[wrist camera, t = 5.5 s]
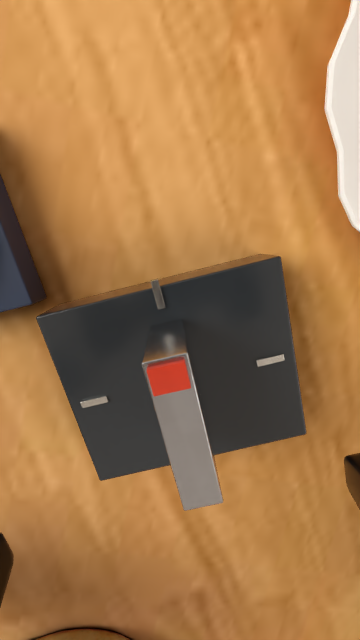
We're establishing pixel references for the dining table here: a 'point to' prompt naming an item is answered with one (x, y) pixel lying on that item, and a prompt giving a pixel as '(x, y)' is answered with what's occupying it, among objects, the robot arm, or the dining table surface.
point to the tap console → (207, 355)
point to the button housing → (15, 261)
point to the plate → (346, 112)
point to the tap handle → (181, 414)
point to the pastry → (84, 635)
